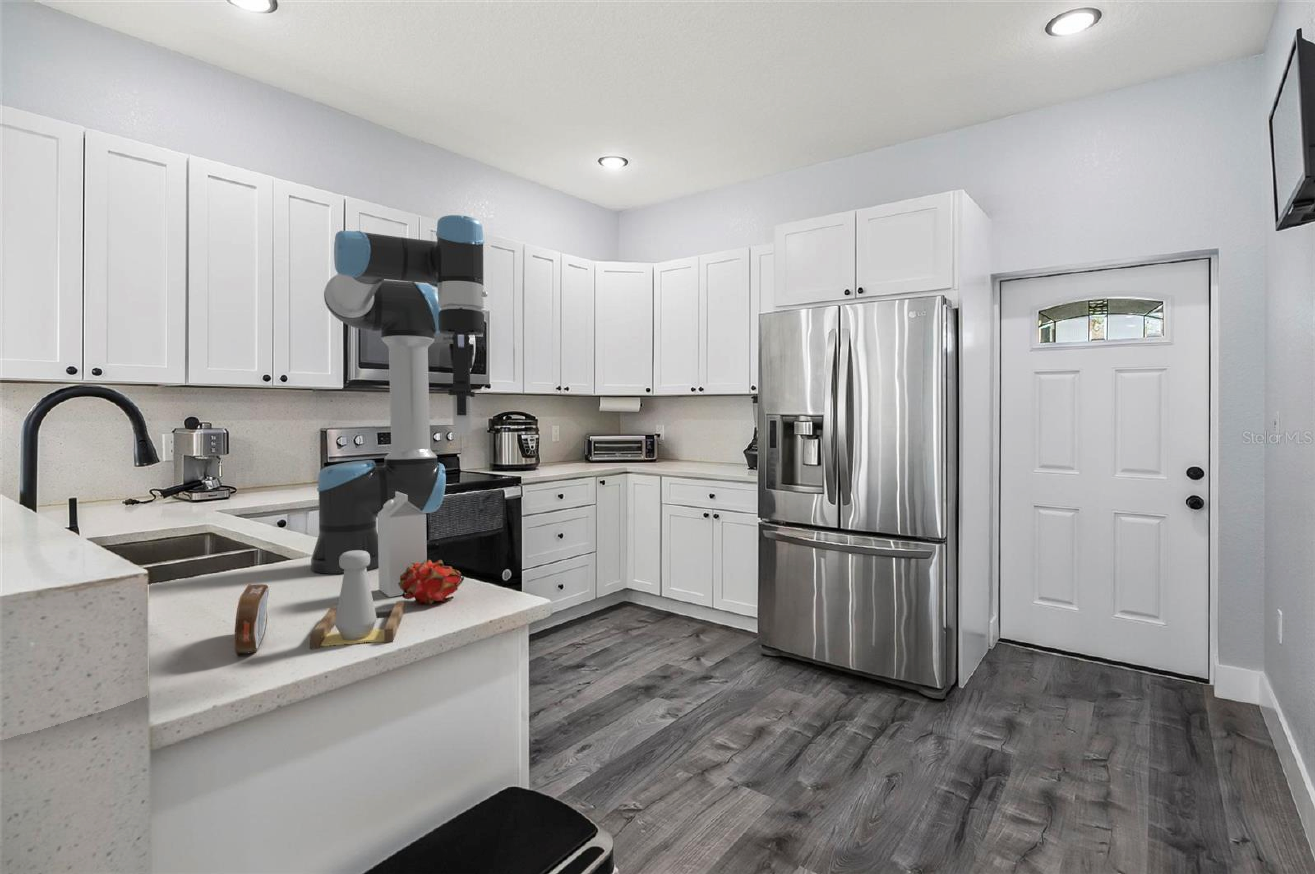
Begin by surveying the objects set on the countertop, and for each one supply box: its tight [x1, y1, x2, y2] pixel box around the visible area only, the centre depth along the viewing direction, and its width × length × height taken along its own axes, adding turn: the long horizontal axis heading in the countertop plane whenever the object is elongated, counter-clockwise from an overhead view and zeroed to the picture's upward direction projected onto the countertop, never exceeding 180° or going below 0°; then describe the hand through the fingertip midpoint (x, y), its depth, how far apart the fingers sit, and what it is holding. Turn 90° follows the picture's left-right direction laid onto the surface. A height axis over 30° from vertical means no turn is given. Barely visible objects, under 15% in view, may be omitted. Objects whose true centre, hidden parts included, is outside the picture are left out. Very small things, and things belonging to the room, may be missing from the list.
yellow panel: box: [320, 628, 385, 647], centre depth 103 cm, size 5×9×1 cm, turn 105°
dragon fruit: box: [398, 559, 465, 605], centre depth 122 cm, size 8×8×12 cm
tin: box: [234, 583, 269, 655], centre depth 100 cm, size 15×3×8 cm, turn 24°
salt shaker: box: [334, 550, 377, 640], centre depth 103 cm, size 6×6×13 cm
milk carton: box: [377, 492, 428, 598], centre depth 129 cm, size 7×7×19 cm
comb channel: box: [309, 600, 405, 650], centre depth 107 cm, size 15×11×2 cm
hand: (463, 434), depth 115 cm, fingers open, 13 cm apart
